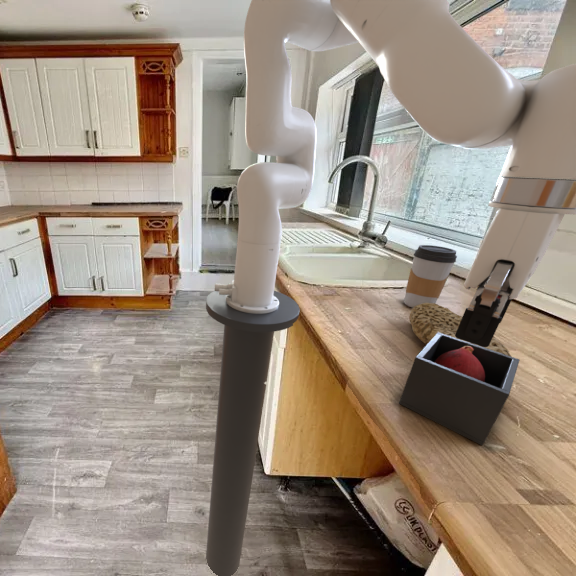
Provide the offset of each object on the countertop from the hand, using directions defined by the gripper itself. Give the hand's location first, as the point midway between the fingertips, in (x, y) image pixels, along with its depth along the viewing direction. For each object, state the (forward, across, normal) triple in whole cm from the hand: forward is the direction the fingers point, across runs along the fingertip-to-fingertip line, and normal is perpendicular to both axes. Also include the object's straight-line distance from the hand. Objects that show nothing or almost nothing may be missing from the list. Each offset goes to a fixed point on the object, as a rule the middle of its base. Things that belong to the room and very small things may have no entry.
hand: (478, 329), depth 41 cm
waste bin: (+12, 0, 0) cm, 13 cm away
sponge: (+13, -19, -4) cm, 23 cm away
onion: (+12, 0, 0) cm, 12 cm away
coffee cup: (+13, -39, -14) cm, 43 cm away
